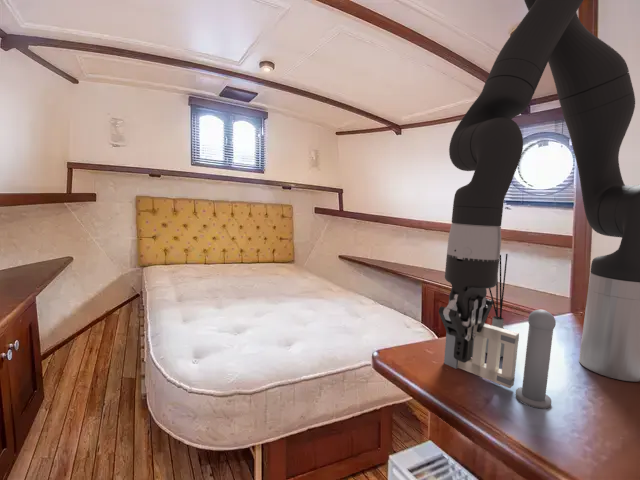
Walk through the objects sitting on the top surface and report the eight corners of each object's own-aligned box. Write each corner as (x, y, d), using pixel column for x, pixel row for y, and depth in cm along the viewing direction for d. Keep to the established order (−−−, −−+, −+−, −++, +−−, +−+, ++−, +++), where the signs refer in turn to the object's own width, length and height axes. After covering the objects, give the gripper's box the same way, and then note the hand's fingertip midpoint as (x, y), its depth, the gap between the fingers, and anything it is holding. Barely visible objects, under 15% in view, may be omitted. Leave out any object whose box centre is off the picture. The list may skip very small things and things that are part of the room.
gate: (513, 384, 54) (519, 333, 53) (509, 388, 53) (515, 335, 52) (462, 364, 60) (465, 317, 59) (457, 367, 59) (461, 320, 58)
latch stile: (454, 358, 64) (459, 288, 63) (482, 370, 60) (489, 295, 58) (442, 363, 62) (447, 290, 60) (471, 376, 58) (478, 298, 56)
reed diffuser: (503, 367, 61) (514, 258, 59) (464, 355, 66) (472, 253, 63) (515, 349, 69) (525, 252, 67) (479, 339, 73) (487, 248, 71)
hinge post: (523, 387, 55) (532, 303, 53) (556, 401, 51) (567, 311, 49) (509, 397, 52) (519, 308, 50) (543, 412, 48) (554, 317, 46)
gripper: (470, 248, 60) (461, 342, 62) (427, 252, 52) (417, 360, 53) (516, 255, 54) (504, 358, 56) (475, 260, 46) (462, 381, 48)
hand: (461, 359), depth 55 cm, fingers closed
